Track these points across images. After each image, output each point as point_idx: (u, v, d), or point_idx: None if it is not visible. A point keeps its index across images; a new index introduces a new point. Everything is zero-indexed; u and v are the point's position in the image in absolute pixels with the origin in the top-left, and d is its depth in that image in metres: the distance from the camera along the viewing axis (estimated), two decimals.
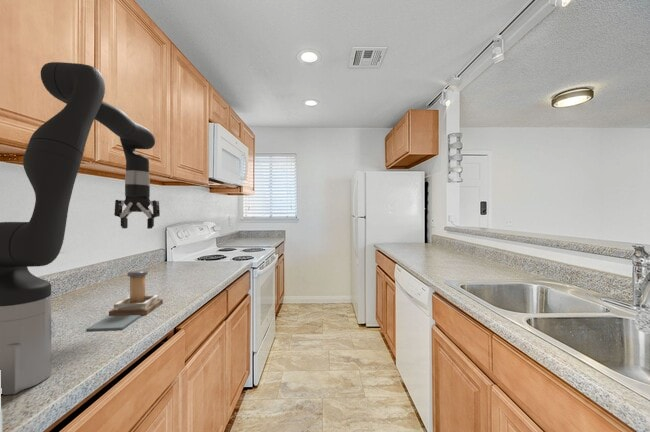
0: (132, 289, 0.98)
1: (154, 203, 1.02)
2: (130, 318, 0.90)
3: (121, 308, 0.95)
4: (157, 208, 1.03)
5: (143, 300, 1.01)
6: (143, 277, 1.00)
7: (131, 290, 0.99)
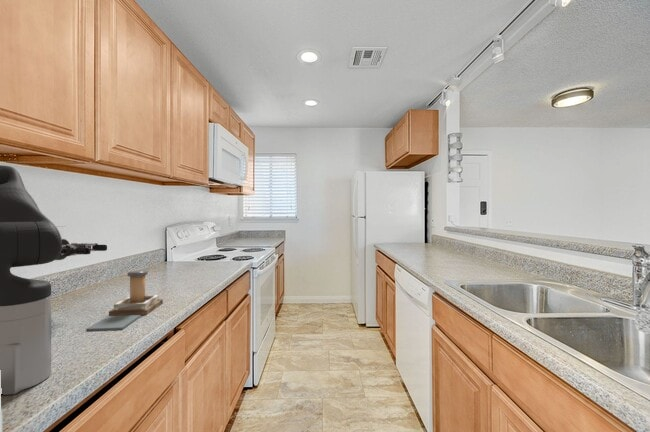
0: (132, 289, 0.98)
1: None
2: (130, 318, 0.90)
3: (121, 308, 0.95)
4: None
5: (143, 300, 1.01)
6: (143, 277, 1.00)
7: (131, 290, 0.99)
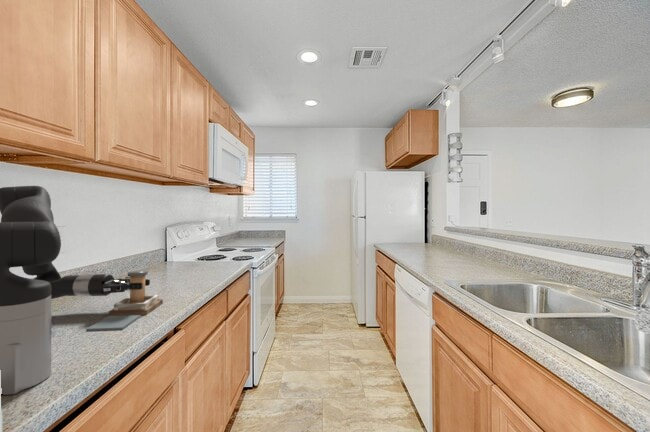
0: None
1: (128, 277, 1.06)
2: (130, 318, 0.90)
3: (121, 308, 0.95)
4: None
5: (143, 300, 1.01)
6: (143, 277, 1.00)
7: (131, 290, 0.99)
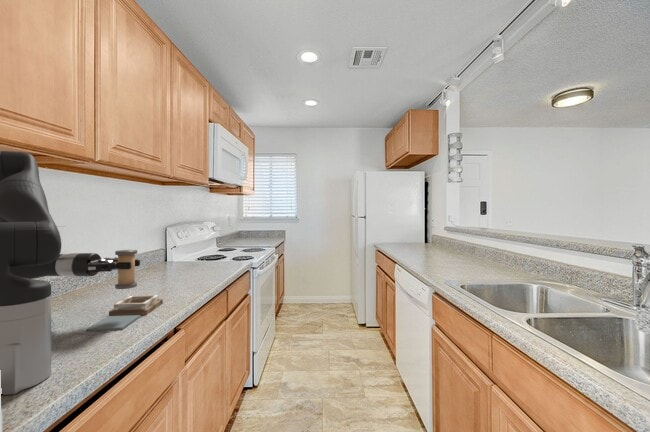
0: (120, 269, 0.91)
1: None
2: (130, 318, 0.90)
3: (121, 308, 0.95)
4: None
5: (132, 281, 0.93)
6: (132, 256, 0.93)
7: (119, 270, 0.91)
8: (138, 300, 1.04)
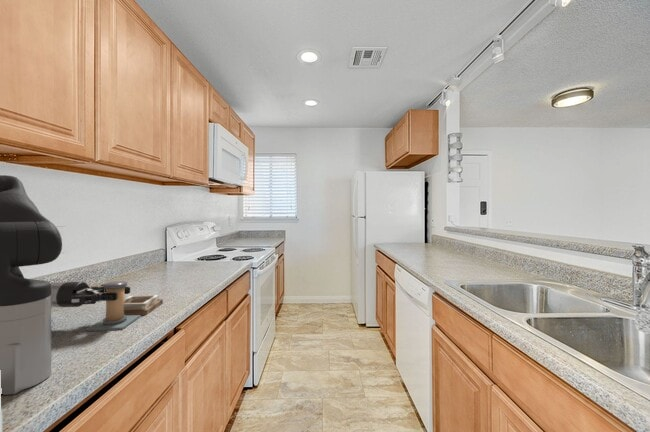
0: (109, 304, 0.85)
1: None
2: (130, 318, 0.90)
3: None
4: None
5: (121, 316, 0.88)
6: (122, 290, 0.87)
7: (107, 305, 0.86)
8: (138, 300, 1.04)
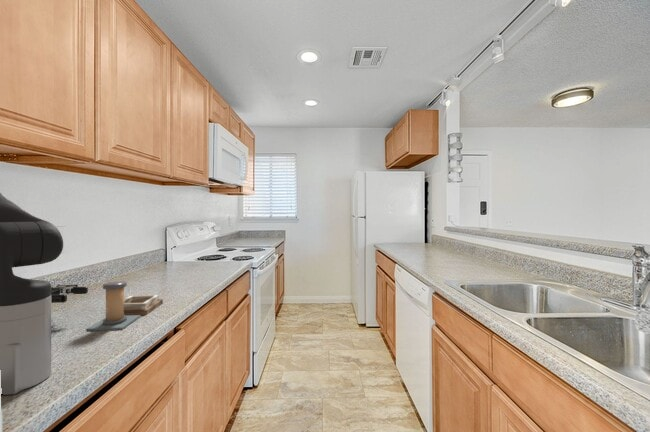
0: (108, 304, 0.86)
1: (60, 285, 0.92)
2: (130, 318, 0.90)
3: None
4: None
5: (121, 316, 0.88)
6: (121, 290, 0.88)
7: (107, 305, 0.86)
8: (138, 300, 1.04)
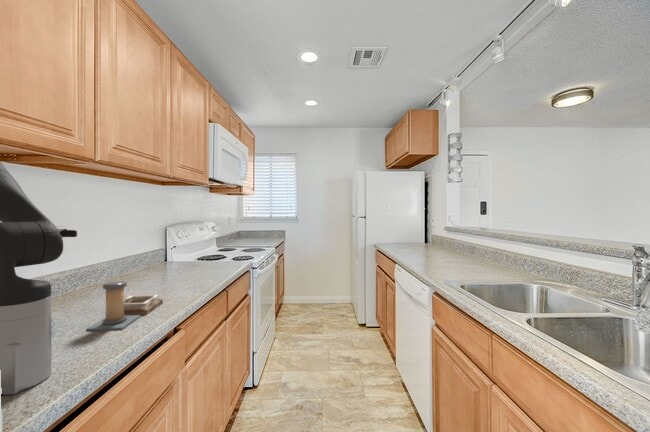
0: (108, 304, 0.86)
1: None
2: (130, 318, 0.90)
3: None
4: None
5: (121, 316, 0.88)
6: (121, 290, 0.88)
7: (107, 305, 0.86)
8: (138, 300, 1.04)
